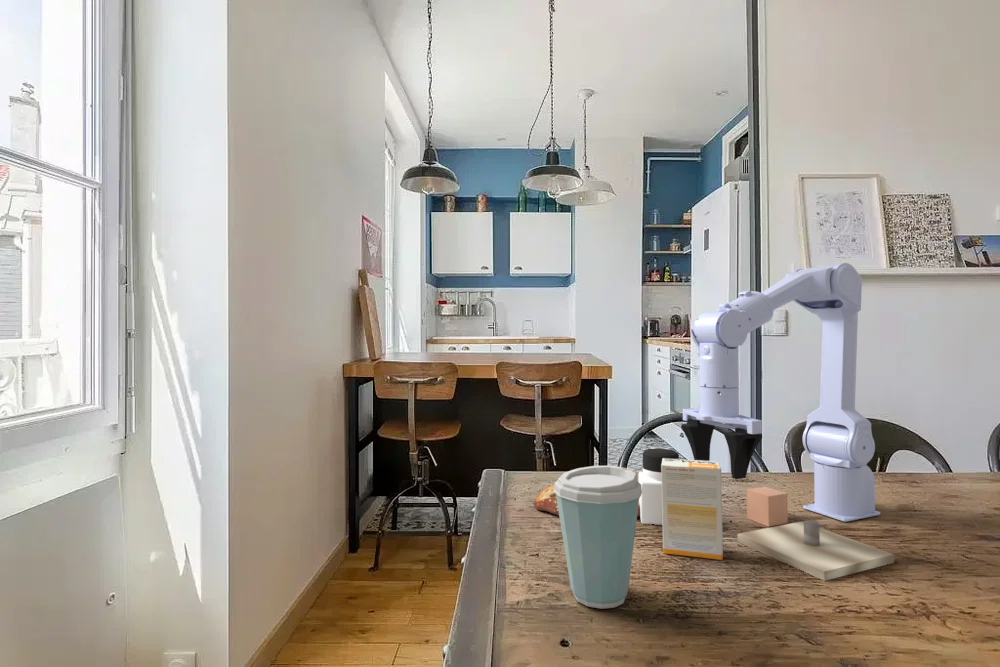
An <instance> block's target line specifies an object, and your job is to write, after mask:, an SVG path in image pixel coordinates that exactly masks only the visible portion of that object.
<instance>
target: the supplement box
mask: <svg viewBox="0 0 1000 667" xmlns="http://www.w3.org/2000/svg"><path fill="white" fill-rule="evenodd" d="M661 474H662V525H661V526H662V551H663V554H666V555H677V556H684V557H686V556H687V557H695V558H702V559H710V560H711V559H712V560H717V561H718V560H719V561H722V560H723V558H724V552H723V551H724V550H723V549H724V548H723V545H724V543H723V542H724V540H723V538H724V537H723V536H724V535H723V497H722V496H723V493H722V492H723V490H722V487H723V486H722V468H721V466H720V463H719V461H715V460H714V461H713V460H709V461H702V460H694V459H682V458H679V459H668V458H663V459H662V464H661Z"/></svg>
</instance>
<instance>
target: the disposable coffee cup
mask: <svg viewBox="0 0 1000 667" xmlns="http://www.w3.org/2000/svg"><path fill="white" fill-rule="evenodd" d="M553 484H554V490H553V491H554V492H555V493H556V498H557V505H558V511H559V515H558V517H559V522H560V529H561V535H562V541H563V548H564V555H565V560H566V566H567V573H568V578H569V579H568V580H569V586H570V590H571V591H572V592H573V593H572V594H573V596H574V598H575V600H576V601H577V602H579V603H580V604H582V605H584V606H586V607H589V608H596V609H601V610H602V609H613V608H617V607H619V606H621V605H623V604H624V603H625V601H626V598H627V595H628V592H629V586H630V578H631V569H632V563H633V561H632V560H633V551H634V544H635V538H636V531H637V530H636V527H637V520H638V516H637V513H638V505H639V498H640V496H641V494H642V489H641V484H640V483H639V481H638V473H636V472H635V471H634V470H632V469H629V468H627V467H622V466H618V465H591V466H584V467H578V468H575V469H571V470H569V471H566V472H563V473H562V474H561V475H560V476H559V477H558V478H557V480H556V481H555V482H554V483H553Z"/></svg>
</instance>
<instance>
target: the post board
mask: <svg viewBox="0 0 1000 667" xmlns="http://www.w3.org/2000/svg"><path fill="white" fill-rule="evenodd" d="M737 543H740V544H741V545H744V546H745V547H748V548H750V549H753V550H755V551H758V552H759V553H761V554H764V555H766V556H769V557H771V558H772V557H773V558H772V559H775V560H777V561H779V562H782V563H783V564H786V563H787V564H786V565H789V566H790V565H791V567H792V566H793V568H795V569H797V570H799V569H800V571H801V570H802V572H803V571H804V573H806V574H808V573H809V574H808V575H811V576H813V577H815V578H817V579H820V580H821V581H823V582H824V581H829V580H833V579H837V578H841V577H845V576H849V575H853V574H857V573H860V572H864V571H868V570H871V569H875V568H879V567H882V566H887V564H888V565H890V564H894V563H895V555H894V553H891V552H888V551H885V550H884V549H881V548H877V547H875V546H872V545H870V544H867V543H863V542H861V541H857V540H856V539H852V538H850V537H847V536H844V535H841V534H838V533H835V532H833V531H830V530H826V529H825V528H823V527H821V526H820V523H819V522H817V521H815V520H804V521H798V522H792V523H785V524H780V525H775V526H770V527H766V528H761V529H756V530H750V531H746V532H741V533H737Z"/></svg>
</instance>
